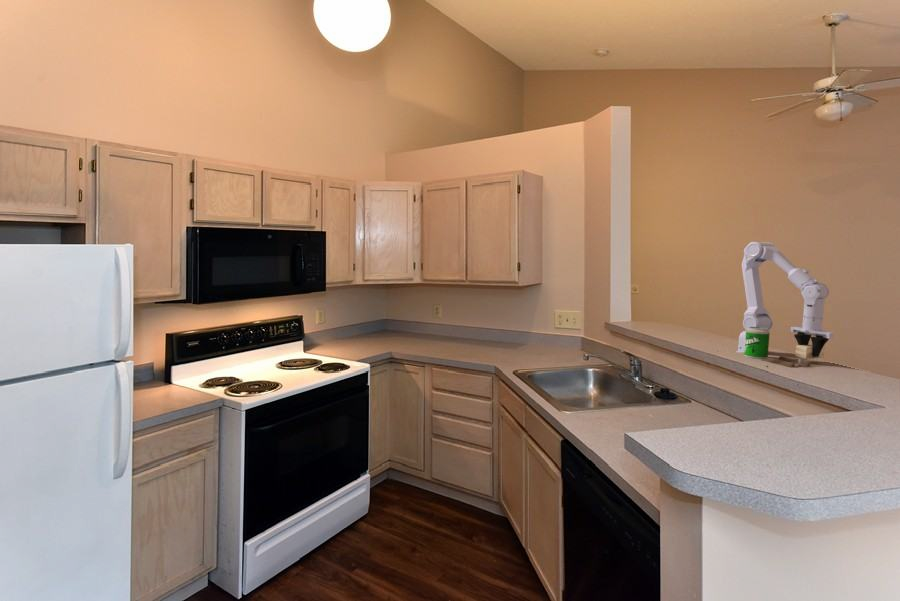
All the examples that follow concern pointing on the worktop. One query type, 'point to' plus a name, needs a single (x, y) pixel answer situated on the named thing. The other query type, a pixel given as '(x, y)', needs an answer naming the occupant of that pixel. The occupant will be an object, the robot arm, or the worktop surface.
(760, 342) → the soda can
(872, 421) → the worktop surface
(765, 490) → the worktop surface
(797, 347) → the birch bar
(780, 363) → the cradle
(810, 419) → the worktop surface
